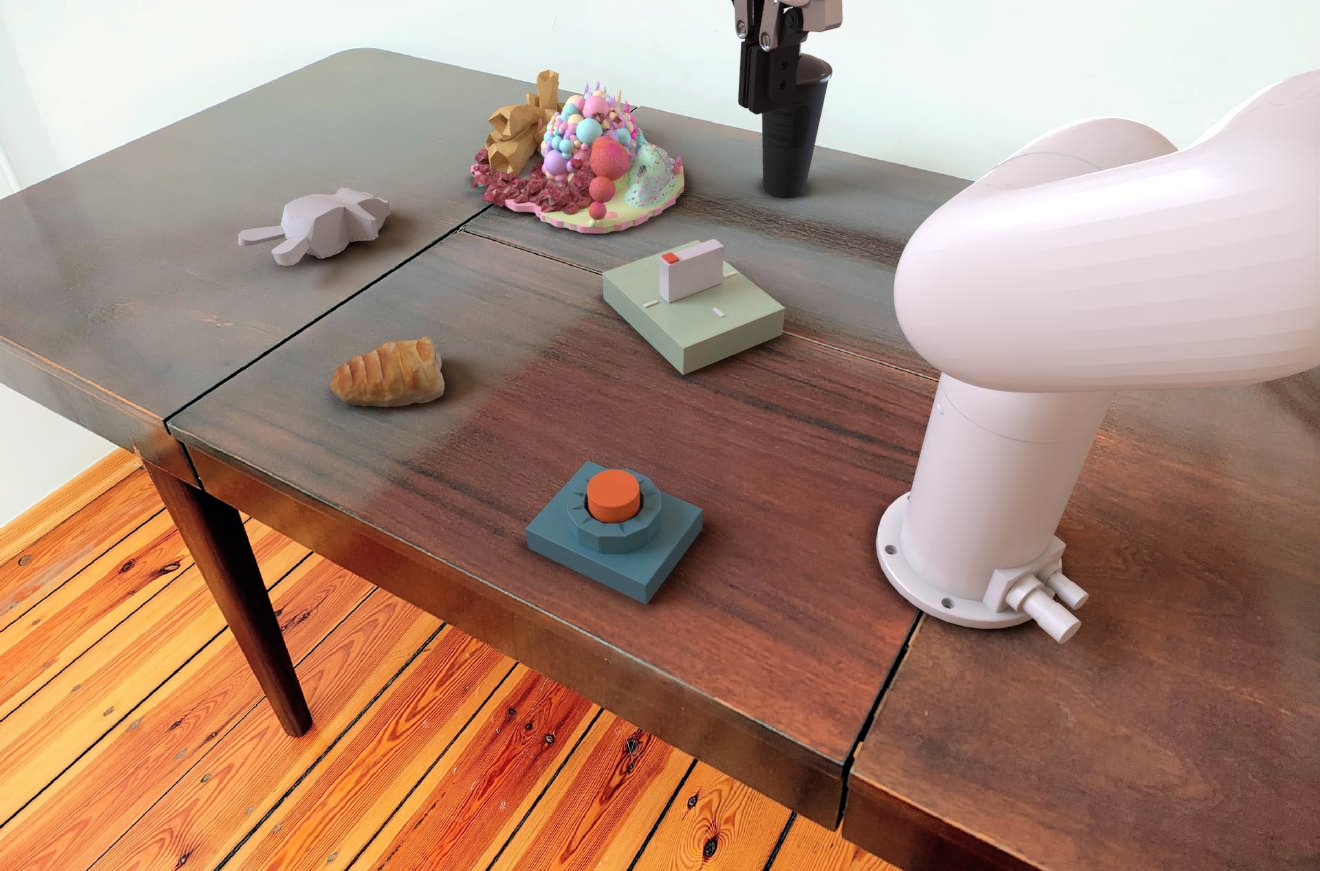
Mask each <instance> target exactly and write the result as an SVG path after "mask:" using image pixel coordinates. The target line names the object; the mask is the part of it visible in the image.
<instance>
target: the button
mask: <svg viewBox="0 0 1320 871" xmlns="http://www.w3.org/2000/svg"><path fill="white" fill-rule="evenodd" d="M587 494H588V506H589V510H590V512H591V514H592V515H593V516H594V517H595V518H596V519H597V520H599V521H602V522H605V523H610V524H617V523H622V522H625V521H627V520H629V519H631V518H632V517H634V516H635V514H636V513H637V512H638V510H639V507H640V492H639V483H638V481H637V480H636V478H635V477H634V476H633V475H631V474H630V473H628V472H625V471H622V470H607V471H603V472H601V473H599V474H597V475H595V476H594V477H593V478H592V479H591V480H590V482H589V484H588V487H587Z"/></svg>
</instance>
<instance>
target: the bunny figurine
mask: <svg viewBox="0 0 1320 871" xmlns="http://www.w3.org/2000/svg"><path fill="white" fill-rule="evenodd" d="M390 209H391V208H390V201H388V200H386V199H384V198H382V197H378V196H377V197H375V195H374V194H371V193H369V192H367V191H359V190H358V189H355V188H352V187H346V186H344V187H340V188H338V190H337V191H336V193H335V194H324V193H323V194H322V193H314V194H309V195H304V196H301V197H298V198H295V199H292V200H291V201H289V202H288V203H286V204H284V208H283V212H282V216H281V221H280V225H273V226H272V225H271V226H264V227H263V226H261V227H256V228H255V227H254V228H248V229H242V230H241V231H240V232H239V233H238V237H237V238H238V240H237V244H238V246H241V247H251V246H255V245H259V244H263V243H266V242H267V243H268V242H270V241H274V240H279V239H285V240H284V241H283V242H282V243H279V244H278V245H277V246H275V247H274V248H272V250H271V254H272V257H273V258H274V260H275V262H276V263H277V264H278V266H285V267H288V266H294V265H295V264H297V263H299V262H300V261H301V259H302V258H303V257H304V255H306V254H307V255H309V256H310V255H311V256H314V257H315V258H317V259H319V260H324V259H325V258H329V257H332V256H335V255H337V254H339V253H341V252H342V251H344V250H345V249H346V248H347V246H348V245H349V243H352V242H361V241H362V242H366V241H367V242H368V241H375V240H376V239H377V238H379V231H380V229H381V228H382V227H383V225H384V223H385V221H386V218H387V217H389V216H390V215H391V210H390Z"/></svg>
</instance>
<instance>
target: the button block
mask: <svg viewBox="0 0 1320 871" xmlns="http://www.w3.org/2000/svg"><path fill="white" fill-rule="evenodd" d="M607 470H622V471H625V472H628V473H630V474H631V475H633V476H634V477H635V478H636V480H637V481H638V483H639V492H640V507H639V510H638V512H637V513H636V514H635V516H634V517H632V518H631V519H629V520H627V521H625V522H622V523H617V524H610V523H605V522H602V521H599V520H597V519H596V518H595V517H594V516H593V515H592V514H591V512H590V510H589V506H588V494H587V487H588V484H589V482H590V480H591V479H592V478H593V477H594V476H595V475H597V474H599V473H601V472H603V471H607ZM703 516H704V508H702V507H699V506H697V505H695V504H692V503H690V502H688V501H685V500H682V499H681V498H679V497H676V496H674V495H670V494H668V493H666V492H664V491H661V490H659V488H658V487H657V486H656V485H655V484H654V483H653V481H652V480H651V479H650V477H648V476H647V475H643V474H641V473H639V472H637V471H634V470H631V469H630V468H607V467H604V466H602V465H600V464H597V463H595V462H592V461H590V460H587V461H586V462H585V463H584V464H583V465H582V466H581V467H580V468H579V469H578V470H577V471H576V472H575V473H574V475H573V476H572V477H571V478H570V479H569V480H567V482H566V483H565V485H563V487H562V488H561V489H560V490H559V491H558V492H557V493H556V495H555V496H553V498H551V500H550V501H549V502H547V504H546V505H545V506H544V507H543V508H542V510H541V511H540V512H538V514H537V515H536V516H535V517H534V518H533V519H532V520H531V521H530V523H529V524H528V525H526V527H525V536H526V542H527V549H529V550H531V551H533V552H535V553H537V554H539V555H541V556H543V557H545V558H548V559H550V560H552V561H554V562H556V563H558V564H560V565H562V566H564V567H566V568H569V569H570V570H572V571H574V572H577V573H578V574H580V575H583V576H585V577H587V578H589V579H591V580H594V581H595V582H598V583H599V584H602V585H604V586H606V587H608V588H611V589H613V590H614V591H617V592H618V593H621V594H623V595H625V596H627V597H629V598H631V599H634V600H635V601H638V602H640V603H642V604H643V605H648V604H649V603H650V601H651V600H652V598H653V597H654V596H655V594H656V593H657V592H658V590H659V589H660V588H661V586H662V585H663V583H664V582H665V581H666V579H667V578H668V577H669V575H670V574H671V572H672V571H673V570H674V568H675V567H676V565H677V564H678V563H679V561H681V559H682V558H683V557H684V555H685V554H686V552H687V551H688V549H689V548H690V546H691V545H692V544H693V542H694V541H695V540H696V538H697V537H698V535H699V534H700V533H701V532H702V530H703V521H704V520H703V518H704V517H703Z"/></svg>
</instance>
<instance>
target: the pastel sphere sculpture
mask: <svg viewBox="0 0 1320 871" xmlns="http://www.w3.org/2000/svg"><path fill="white" fill-rule="evenodd" d="M559 77H560V73H558V72H556V71H553V70H551V69H547V70H544V71H541V72H539V73H538V75H537V76H536V90H537V94H535V93H532V92H528V93H526V94H525V98H526V103H523V104H509V105H505V106H502V107H499V108H498V109H497V110H496V111H495V112H493V113H492V114H491V116H490V118H488V120H487V122H488V123H489V125H491V126H492V127H493V128H494V129H495V130H494V131H492V132H490V133H489V134H488V136H487V139H486V141H485V143H484V144H485V145H484V148H481V149H480V151H478V152H477V153H476V154H475V155H474V160H475V161H477V162H476V163H475V164H473V165H471V166H470V174H471V176H473V177H474V179H473V181H472V183H471V185H470V189H476V188H481V187H486V186H488V187H487V189H486V191H485V192H484V194H483V195H482V197H481V199H480V200H481V201H483V202H486V203H489V204H492V205H495V206H497V207H500V208H503V206H505V207H507V208H508V209H510V210H512V211H513V212H517V213H518V212H519V213H523V212H524V213H535V216H536V217H538V218H540V222H542V223H548V224H550V225H552V226H554V227H555V228H565V229H569V230H570V231H576V232H578V233H581V234H608V233H610V232H621V231H624V230H626V229H628V228H630V227H638V226H639V225H640V224H641V225H642V224H644V223H645V222H646V221H649V218H651V217H657V216H659V215H661V214H662V213H663V211H664V210H666V209H668V208H670V207H672V206H673V205H675V204H676V202H677V201H676V200H677V199H678V198H679V197H680V196H681V194H683V193H684V192H685V174H684V166H683V162H682V159H681V157H682V156H681V155H678V156H677V157H676V158H675V159H674V158H673V157H671V156H669V153H668V152H667V151H666V150H665V149H663V148H662V147H660V146H658V145H657V144H653V143H651V142H648V141H647V139H645V136H644V134H643V130H642V129H641V128H640V127H639V126H637V127H636V125H635V123H636V118H635V117H634V116H633V115H632V113H631V112H632V111H631V110H630V109H631V107H630V104H629V103H628V101H627V100H624V103H625V108H624V109H623V107H621V100H622V89H621V88H619V89H617V96H616V97H615V95H614V96H613V97H612V96H610V95H609V94H608V93H607V88H606V87H607V86H604V87H603V90H600V87H601V86H600V85H601V84H600V81H599V80H598V81H597V82H596V84H595V91H592V92H591V91H590V87H589V86H590V85H589V81H586V85H585V88H584V92H583V93H584V95H580V94H574V95H572V96H570V97H569V98H568V99H567V100H566V102H559V93H558V89H559V86H560V81H559V79H560V78H559ZM620 107H621V108H620Z"/></svg>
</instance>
